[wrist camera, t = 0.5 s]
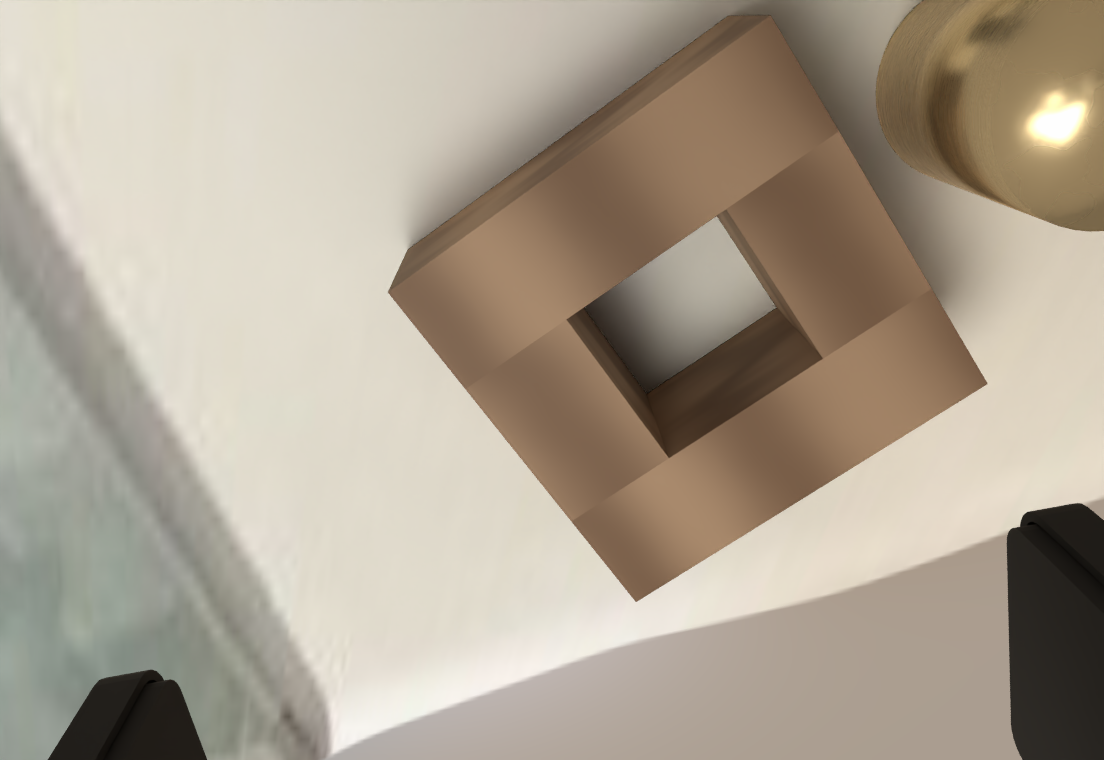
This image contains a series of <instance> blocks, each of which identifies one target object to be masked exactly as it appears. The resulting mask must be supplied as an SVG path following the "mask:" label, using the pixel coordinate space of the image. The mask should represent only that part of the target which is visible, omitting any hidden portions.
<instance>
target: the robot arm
mask: <svg viewBox="0 0 1104 760" xmlns="http://www.w3.org/2000/svg"><path fill="white" fill-rule="evenodd" d="M1007 566H1008V568H1007V570H1008V612H1009V652H1010V655H1009V656H1010V698H1011V727H1012V733H1013V738H1014V741H1015V744H1016V747H1017V749H1018V751H1019V754H1020V756H1021V757H1022V759H1023V760H1104V520H1103V519H1101V518H1100V517H1099V516H1098V515H1097V514H1095V513H1094V512H1093V511H1092V510H1090V509H1089V508H1088V507H1086V506H1085V505H1083V504H1080V503H1075V504H1069V505H1064V506H1058V507H1053V508H1047V509H1042V510H1036V511H1030V512H1027V513H1026V514H1024V515H1023V517H1022V520H1021V524H1020V527H1017V528H1012V529H1011V530H1010V531H1009V533H1008V536H1007ZM48 760H207V758H206V756H205V753H204V750H203V748H202V745H201V742H200V740H199V737H198V734H197V732H196V729H195V726H194V724H193V721H192V718H191V716H190V713H189V710H188V708H187V705H186V702H185V700H184V697H183V694H182V692H181V689H180V687H179V685H178V684H177V683H176V682H175V681H174V680H165V681H164V680H163V678H162V676H161V675H160V674H159V673H158V672H157V671H154V670H147V671H141V672H135V673H130V674H124V675H119V676H113V677H108V678H104V679H101V680H99V681H98V682H97V683H96V684H95V685H94V687H93V688H92V690H91V692H90V693H89V695H88V696H87V698H86V700H85V701H84V703H83V704H82V706H81V708H80V709H79V711H78V712H77V714H76V716H75V717H74V719H73V720H72V722H71V724H70V725H69V727H68V728H67V730H66V731H65V733H64V735H63V736H62V738H61V739H60V741H59V743H58V744H57V746H56V747H55V749H54V751H53V752H52V754H51V755H50V757H49V759H48Z"/></svg>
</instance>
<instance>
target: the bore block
mask: <svg viewBox="0 0 1104 760" xmlns="http://www.w3.org/2000/svg"><path fill="white" fill-rule="evenodd" d="M716 216H717V217H718V218H719V220H720V222H721V223H722V225H723V226H724V228H725V229H726V231H727V232H728V234H729V235H730V237H731V238H732V240H733V241H734V243H735V244H736V246H737V248H738V249H739V251H740V252H741V254H742V255H743V257H744V258H745V260H746V261H747V263H748V264H749V266H750V267H751V269H752V270H753V272H754V274H755V275H756V277H757V278H758V280H759V281H760V283H761V284H762V286H763V287H764V289H765V290H766V292H767V293H768V295H769V296H770V298H771V300H772V301H773V303H774V304H775V306H776V307H777V308H776V309H774V310H773V311H771V312H770V313H768V314H767V315H765V316H764V317H762V318H761V319H759V320H758V321H756V322H755V323H753V324H752V325H750V326H749V327H747V328H746V329H744V330H743V331H741V332H740V333H738V334H737V335H735V336H734V337H732V338H731V339H729V340H728V341H726V342H725V343H723V344H722V345H720V346H719V347H717V348H716V349H714V350H713V351H711V352H710V353H708V354H707V355H705V356H704V357H702V358H701V359H699V360H698V361H696V362H695V363H693V364H692V365H690V366H688V367H687V368H685V369H684V370H682V371H681V372H679V373H678V374H676V375H675V376H673V377H672V378H670V379H669V380H667V381H666V382H664V383H663V384H661V385H660V386H658V387H657V388H655V389H654V390H652V391H651V392H649V393H648V394H646V393H645V392H644V390H643V389H642V387H641V386H640V385H639V383H638V382H637V381H636V379H635V378H634V377H633V375H632V374H631V372H630V371H629V370H628V368H627V367H626V366H625V364H624V363H623V361H622V360H621V359H620V357H619V356H618V355H617V353H616V352H615V350H614V349H613V348H612V346H611V345H610V344H609V342H608V341H607V340H606V338H605V337H604V335H603V334H602V333H601V331H600V330H599V329H598V327H597V326H596V324H595V323H594V322H593V320H592V319H591V318H590V316H589V315H588V313H587V312H586V311H585V309H584V307H585V306H587V305H588V304H590V303H591V302H592V301H594V300H595V299H597V298H598V297H600V296H601V295H603V294H604V293H605V292H607V291H608V290H610V289H611V288H613V287H614V286H616V285H617V284H619V283H620V282H621V281H623V280H624V279H626V278H627V277H629V276H630V275H632V274H633V273H634V272H636V271H637V270H639V269H640V268H642V267H643V266H645V265H646V264H647V263H649V262H650V261H652V260H653V259H655V258H656V257H658V256H659V255H661V254H662V253H663V252H665V251H666V250H668V249H669V248H671V247H672V246H674V245H675V244H676V243H678V242H679V241H681V240H682V239H684V238H685V237H687V236H688V235H689V234H691V233H692V232H694V231H695V230H697V229H698V228H700V227H701V226H703V225H704V224H705V223H707V222H708V221H710V220H711V219H713V218H714V217H716ZM388 293H389V294H390V296H391V297H392V298H393V299H394V301H395V302H396V303H397V304H398V305H399V307H400V308H401V309H402V310H403V312H404V313H405V314H406V315H407V317H408V318H409V319H410V320H411V322H412V323H413V324H414V325H415V327H416V328H417V329H418V330H419V332H420V333H421V334H422V335H423V337H424V338H425V339H426V340H427V342H428V343H429V344H430V345H431V347H432V348H433V349H434V350H435V352H436V353H437V354H438V355H439V357H440V358H441V359H442V360H443V362H444V363H445V364H446V365H447V367H448V368H449V369H450V370H451V372H452V373H453V374H454V375H455V377H456V378H457V379H458V380H459V382H460V383H461V384H462V385H463V387H464V388H465V389H466V390H467V392H468V393H469V394H470V395H471V397H472V398H473V399H474V400H475V402H476V403H477V404H478V405H479V407H480V408H481V409H482V410H483V412H484V413H485V414H486V415H487V417H488V418H489V419H490V420H491V422H492V423H493V424H494V425H495V427H496V428H497V429H498V430H499V432H500V433H501V434H502V435H503V437H504V438H505V439H506V440H507V442H508V443H509V444H510V445H511V447H512V448H513V449H514V450H515V452H516V453H517V454H518V455H519V457H520V458H521V459H522V460H523V462H524V463H525V464H526V465H527V467H528V468H529V469H530V470H531V472H532V473H533V474H534V475H535V476H536V478H537V479H538V480H539V481H540V483H541V484H542V485H543V486H544V488H545V489H546V490H547V491H548V493H549V494H550V495H551V496H552V498H553V499H554V500H555V501H556V503H557V504H558V505H559V506H560V508H561V509H562V510H563V511H564V513H565V514H566V515H567V516H568V518H569V519H570V520H571V521H572V523H573V524H574V525H575V526H576V528H577V529H578V530H579V531H580V533H581V534H582V535H583V536H584V538H585V539H586V540H587V541H588V543H589V544H590V545H591V546H592V548H593V549H594V550H595V551H596V553H597V554H598V555H599V556H600V558H601V559H602V560H603V561H604V563H605V564H606V565H607V566H608V568H609V569H610V570H611V571H612V573H613V574H614V575H615V576H616V578H617V579H618V580H619V581H620V583H621V584H622V585H623V586H624V588H625V589H626V590H627V591H628V593H629V594H630V595H631V596H632V598H633V599H634V600H635V601H636V602H637V601H638V600H640V599H642V598H643V597H645V596H646V595H648V594H650V593H651V592H653V591H655V590H656V589H658V588H659V587H661V586H663V585H664V584H666V583H667V582H669V581H671V580H672V579H674V578H676V577H677V576H679V575H680V574H682V573H684V572H685V571H687V570H688V569H690V568H692V567H693V566H695V565H696V564H698V563H700V562H701V561H703V560H705V559H706V558H708V557H709V556H711V555H713V554H714V553H716V552H717V551H719V550H721V549H722V548H724V547H725V546H727V545H729V544H730V543H732V542H734V541H735V540H737V539H738V538H740V537H742V536H743V535H745V534H746V533H748V532H750V531H751V530H753V529H754V528H756V527H758V526H759V525H761V524H763V523H764V522H766V521H767V520H769V519H771V518H772V517H774V516H775V515H777V514H779V513H780V512H782V511H784V510H785V509H787V508H788V507H790V506H792V505H793V504H795V503H796V502H798V501H800V500H801V499H803V498H804V497H806V496H808V495H809V494H811V493H813V492H814V491H816V490H817V489H819V488H821V487H822V486H824V485H825V484H827V483H829V482H830V481H832V480H833V479H835V478H837V477H838V476H840V475H842V474H843V473H845V472H846V471H848V470H850V469H851V468H853V467H854V466H856V465H858V464H859V463H861V462H862V461H864V460H866V459H867V458H869V457H871V456H872V455H874V454H875V453H877V452H879V451H880V450H882V449H883V448H885V447H887V446H888V445H890V444H892V443H893V442H895V441H896V440H898V439H900V438H901V437H903V436H904V435H906V434H908V433H909V432H911V431H912V430H914V429H916V428H917V427H919V426H921V425H922V424H924V423H925V422H927V421H929V420H930V419H932V418H933V417H935V416H937V415H938V414H940V413H941V412H943V411H945V410H946V409H948V408H950V407H951V406H953V405H954V404H956V403H958V402H959V401H961V400H962V399H964V398H966V397H967V396H969V395H970V394H972V393H974V392H975V391H977V390H979V389H980V388H982V387H983V386H985V385H987V382H986V380H985V379H984V377H983V375H982V373H981V372H980V370H979V368H978V367H977V365H976V363H975V362H974V360H973V358H972V356H971V355H970V353H969V351H968V350H967V348H966V346H965V345H964V343H963V341H962V339H961V338H960V336H959V334H958V333H957V331H956V329H955V328H954V326H953V324H952V322H951V321H950V319H949V317H948V316H947V314H946V312H945V311H944V309H943V307H942V305H941V304H940V302H939V300H938V299H937V297H936V295H935V294H934V292H933V290H932V288H931V287H930V285H929V283H928V282H927V280H926V278H925V277H924V275H923V273H922V271H921V270H920V268H919V266H918V265H917V263H916V261H915V260H914V258H913V256H912V254H911V253H910V251H909V249H908V248H907V246H906V244H905V243H904V241H903V239H902V237H901V236H900V234H899V232H898V231H897V229H896V227H895V226H894V224H893V222H892V220H891V219H890V217H889V215H888V214H887V212H886V210H885V209H884V207H883V205H882V204H881V202H880V200H879V198H878V197H877V195H876V193H875V192H874V190H873V188H872V187H871V185H870V183H869V181H868V180H867V178H866V176H865V175H864V173H863V171H862V170H861V168H860V166H859V164H858V163H857V161H856V159H855V158H854V156H853V154H852V153H851V151H850V149H849V147H848V146H847V144H846V142H845V141H844V139H843V137H842V136H841V134H840V132H839V130H838V129H837V127H836V125H835V124H834V122H833V120H832V119H831V117H830V115H829V113H828V112H827V110H826V108H825V107H824V105H823V103H822V102H821V100H820V98H819V96H818V95H817V93H816V91H815V90H814V88H813V86H812V85H811V83H810V81H809V79H808V78H807V76H806V74H805V73H804V71H803V69H802V68H801V66H800V64H799V62H798V61H797V59H796V57H795V56H794V54H793V52H792V51H791V49H790V47H789V45H788V44H787V42H786V40H785V39H784V37H783V35H782V34H781V32H780V30H779V28H778V27H777V25H776V23H775V22H774V20H773V18H772V17H771V15H752V16H727V17H726V18H725V19H723V20H722V21H720V22H719V23H718V24H716V25H715V26H714V27H712V28H711V29H709V30H708V31H707V32H705V33H704V34H703V35H701V36H700V37H699V38H697V39H696V40H694V41H693V42H692V43H690V44H689V45H688V46H686V47H685V48H683V49H682V50H681V51H679V52H678V53H677V54H675V55H674V56H673V57H671V58H670V59H668V60H667V61H666V62H664V63H663V64H662V65H660V66H659V67H657V68H656V69H655V70H653V71H652V72H651V73H649V74H648V75H646V76H645V77H644V78H642V79H641V80H640V81H638V82H637V83H636V84H634V85H633V86H631V87H630V88H629V89H627V90H626V91H625V92H623V93H622V94H620V95H619V96H618V97H616V98H615V99H614V100H612V101H611V102H610V103H608V104H607V105H605V106H604V107H603V108H601V109H600V110H599V111H597V112H596V113H594V114H593V115H592V116H590V117H589V118H588V119H586V120H585V121H584V122H582V123H581V124H579V125H578V126H577V127H575V128H574V129H573V130H571V131H570V132H568V133H567V134H566V135H564V136H563V137H562V138H560V139H559V140H557V141H556V142H555V143H553V144H552V145H551V146H549V147H548V148H547V149H545V150H544V151H542V152H541V153H540V154H538V155H537V156H536V157H534V158H533V159H531V160H530V161H529V162H527V163H526V164H525V165H523V166H522V167H521V168H519V169H518V170H516V171H515V172H514V173H512V174H511V175H510V176H508V177H507V178H505V179H504V180H503V181H501V182H500V183H499V184H497V185H496V186H494V187H493V188H492V189H490V190H489V191H488V192H486V193H485V194H484V195H482V196H481V197H479V198H478V199H477V200H475V201H474V202H473V203H471V204H470V205H468V206H467V207H466V208H464V209H463V210H462V211H460V212H459V213H458V214H456V215H455V216H453V217H452V218H451V219H449V220H448V221H447V222H445V223H444V224H442V225H441V226H440V227H438V228H437V229H436V230H434V231H433V232H431V233H430V234H429V235H427V236H426V237H425V238H423V239H422V240H421V241H419V242H418V243H416V244H415V245H414V246H412V247H411V248H410V249H408V250H407V252H406V254H405V257H404V259H403V261H402V263H401V265H400V267H399V270H398V272H397V274H396V276H395V278H394V280H393V282H392V285H391V287H390V289H389V291H388Z"/></svg>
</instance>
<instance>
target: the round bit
mask: <svg viewBox="0 0 1104 760" xmlns="http://www.w3.org/2000/svg"><path fill="white" fill-rule="evenodd" d="M876 107H877V112H878V118H879V121H880V125H881V128H882V131H883V133H884V135H885V137H886V139H887V141H888V143H889V144H890V146H891V147H892V149H893V150H894V151H895V153H896V154H897V155H898V156H899V157H900V158H901V159H902V160H903V161H904V162H905V163H907V164H908V165H909V166H910V167H912V168H913V169H915V170H917V171H918V172H920V173H922V174H924V175H927V176H929V177H932V178H934V179H937V180H940V181H942V182H945V183H948V184H950V185H953V186H955V187H958V188H961V189H963V190H966V191H969V192H971V193H974V194H976V195H979V196H982V197H984V198H987V199H990V200H992V201H995V202H997V203H1000V204H1003V205H1005V206H1008V207H1010V208H1013V209H1016V210H1018V211H1021V212H1024V213H1026V214H1029V215H1031V216H1034V217H1037V218H1039V219H1042V220H1045V221H1047V222H1050V223H1052V224H1055V225H1058V226H1061V227H1065V228H1069V229H1073V230H1081V231H1104V0H923V1H922V2H921V3H919V4H918V5H917V6H916V7H915V8H914V9H913V10H912V11H911V12H910V13H909V14H908V15H907V16H906V17H905V19H904V20H903V21H902V22H901V24H900V25H899V26H898V27H897V29H896V31H895V32H894V34H893V36H892V37H891V39H890V41H889V43H888V45H887V47H886V49H885V51H884V54H883V57H882V60H881V63H880V66H879V71H878V76H877V83H876Z"/></svg>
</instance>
